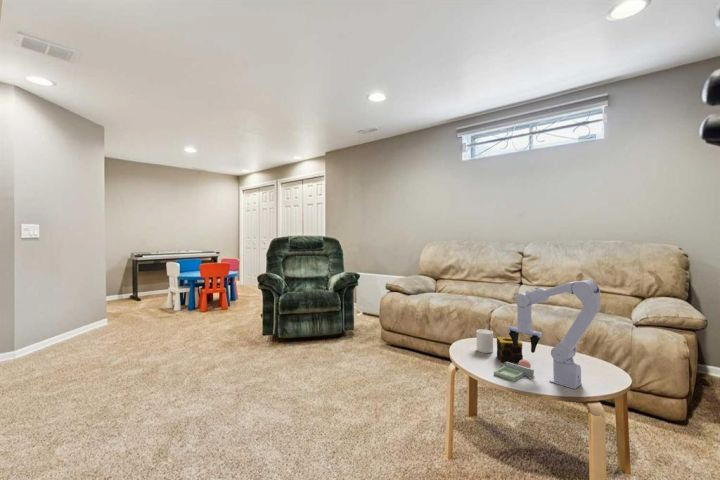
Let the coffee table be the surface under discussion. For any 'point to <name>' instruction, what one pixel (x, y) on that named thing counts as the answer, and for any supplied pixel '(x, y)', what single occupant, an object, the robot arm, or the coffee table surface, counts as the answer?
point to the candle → (508, 350)
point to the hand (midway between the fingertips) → (524, 349)
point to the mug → (485, 341)
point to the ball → (524, 363)
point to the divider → (521, 369)
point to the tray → (509, 373)
